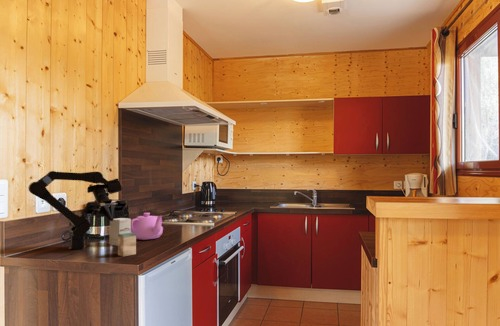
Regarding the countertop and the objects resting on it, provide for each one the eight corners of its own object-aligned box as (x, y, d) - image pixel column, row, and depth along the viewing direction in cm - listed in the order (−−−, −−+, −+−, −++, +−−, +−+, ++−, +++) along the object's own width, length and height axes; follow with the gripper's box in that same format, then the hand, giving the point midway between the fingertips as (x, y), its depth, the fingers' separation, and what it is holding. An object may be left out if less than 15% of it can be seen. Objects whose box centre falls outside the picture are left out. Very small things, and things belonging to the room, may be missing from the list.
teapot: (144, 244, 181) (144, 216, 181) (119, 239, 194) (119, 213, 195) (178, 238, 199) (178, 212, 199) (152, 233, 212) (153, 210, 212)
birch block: (118, 254, 158) (118, 234, 158) (130, 252, 163) (130, 232, 163) (123, 256, 155) (123, 235, 155) (135, 254, 160) (136, 233, 160)
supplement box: (118, 246, 176) (119, 220, 176) (108, 244, 180) (109, 219, 180) (130, 243, 182) (131, 218, 183) (121, 242, 186) (121, 217, 186)
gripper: (112, 205, 186) (123, 229, 178) (75, 207, 172) (86, 233, 164) (121, 190, 181) (132, 214, 173) (83, 191, 167) (94, 218, 159)
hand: (112, 220), depth 168 cm, fingers closed
